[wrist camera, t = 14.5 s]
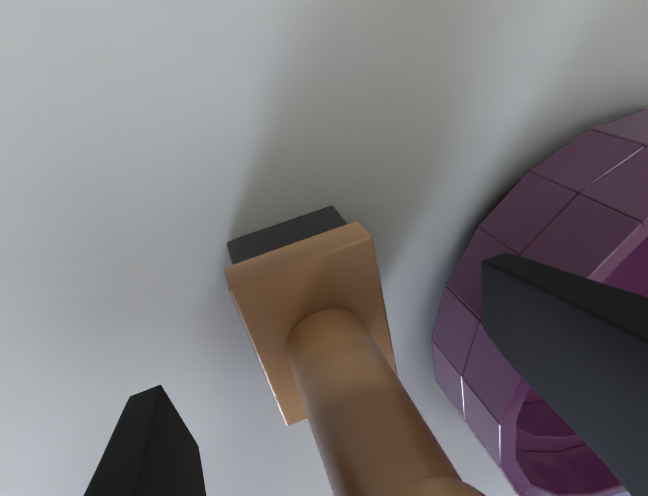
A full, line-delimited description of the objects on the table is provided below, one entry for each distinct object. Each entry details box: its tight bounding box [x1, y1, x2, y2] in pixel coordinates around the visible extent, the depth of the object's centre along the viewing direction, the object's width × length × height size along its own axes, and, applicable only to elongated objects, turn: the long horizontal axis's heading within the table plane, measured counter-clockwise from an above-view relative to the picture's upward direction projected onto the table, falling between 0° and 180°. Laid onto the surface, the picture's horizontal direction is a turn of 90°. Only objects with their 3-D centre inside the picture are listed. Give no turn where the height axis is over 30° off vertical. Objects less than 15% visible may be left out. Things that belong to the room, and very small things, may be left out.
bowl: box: [432, 109, 648, 496], centre depth 16 cm, size 14×14×4 cm
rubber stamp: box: [225, 206, 485, 496], centre depth 10 cm, size 5×4×10 cm
